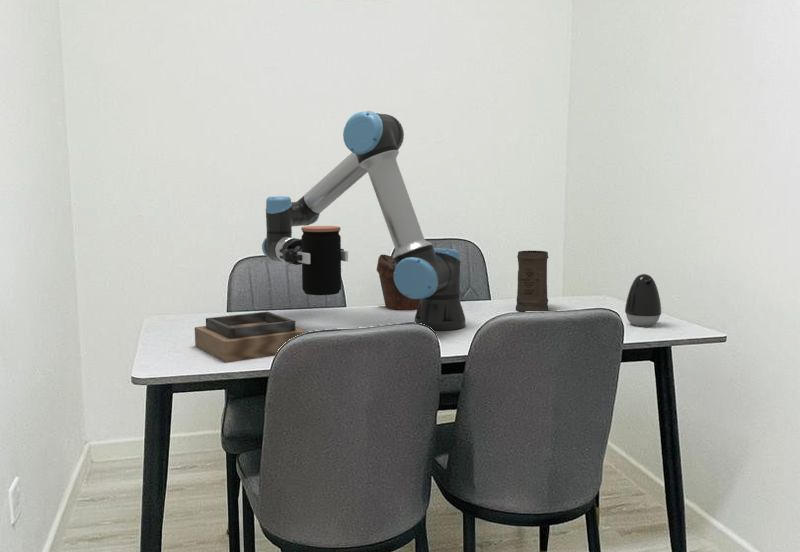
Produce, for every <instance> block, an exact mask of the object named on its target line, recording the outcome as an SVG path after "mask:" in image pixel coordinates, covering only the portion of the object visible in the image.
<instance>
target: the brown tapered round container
mask: <svg viewBox="0 0 800 552" xmlns="http://www.w3.org/2000/svg"><path fill="white" fill-rule="evenodd" d="M395 268H396V266H395V263H394V260H393V256H392V255H387V254H380V255H379V256H378V260H377V265H376V272H377V273H378V277H379V280H380V287H381V291H382V296H383V301H384V306H385V307H386V308H387V309H390V310H397V311H398V310H399V311H407V310H409V311H410V310H417V309H418V306H419V303H420V299H412V298H409V297H406V296H404V295H403V294H402V293H401V292H400V291H399V290H398V289H397V287H396V285H395V282H394V271H395Z"/></svg>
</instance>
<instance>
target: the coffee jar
mask: <svg viewBox="0 0 800 552" xmlns="http://www.w3.org/2000/svg"><path fill="white" fill-rule="evenodd" d="M300 227H301V228H300V229H301V232H302V235H301V238H300V239H301V241H302V252H303V253H309V254H310V264H305V263H302V264H301V283H302V284H301V285H302V286H301V287H302V288H301V289H302V291H303V293H304V294H305V295H310V296H333V295H336V294H337V295H338V294H339V293H340V291H341V290H342V261H341V249H342V246H341V245H342V242H341V241H342V238H341V235H340V231H341V226H336V225H307V226H300Z"/></svg>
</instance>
